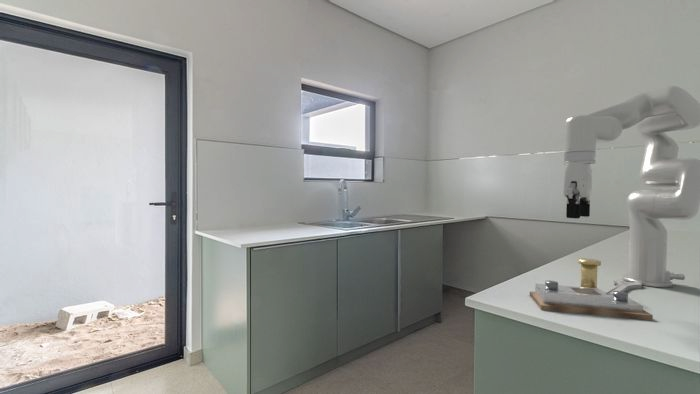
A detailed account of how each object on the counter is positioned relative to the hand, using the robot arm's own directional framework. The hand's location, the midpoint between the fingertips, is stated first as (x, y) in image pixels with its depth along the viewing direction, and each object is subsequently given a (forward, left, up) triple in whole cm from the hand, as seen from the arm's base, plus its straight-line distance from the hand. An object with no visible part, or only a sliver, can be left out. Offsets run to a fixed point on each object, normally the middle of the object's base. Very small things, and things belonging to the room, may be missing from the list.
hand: (578, 217), depth 96 cm
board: (+1, +9, -23) cm, 25 cm away
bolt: (-5, -5, -23) cm, 24 cm away
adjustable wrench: (-15, -10, -24) cm, 30 cm away
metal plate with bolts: (+1, +9, -22) cm, 24 cm away
